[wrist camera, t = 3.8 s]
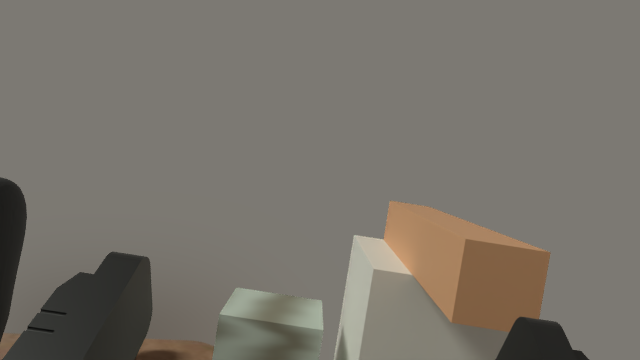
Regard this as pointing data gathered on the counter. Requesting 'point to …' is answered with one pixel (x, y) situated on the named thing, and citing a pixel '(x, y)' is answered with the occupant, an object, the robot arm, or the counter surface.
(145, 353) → the counter surface
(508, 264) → the bar
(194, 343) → the counter surface
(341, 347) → the stand
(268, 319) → the tower
